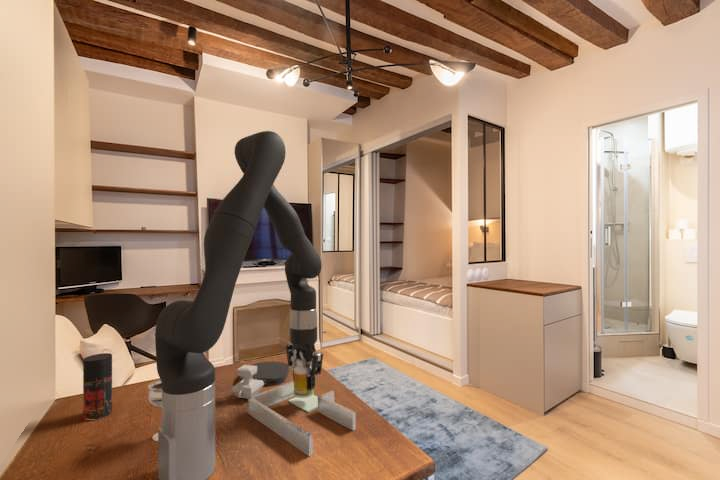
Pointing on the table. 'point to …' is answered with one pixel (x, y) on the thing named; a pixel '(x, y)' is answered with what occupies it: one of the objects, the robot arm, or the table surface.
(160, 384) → the wineglass
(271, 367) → the media streaming box
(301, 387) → the supplement bottle
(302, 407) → the pad
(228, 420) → the table surface
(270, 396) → the channel
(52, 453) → the table surface
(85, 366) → the deodorant
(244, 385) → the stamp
